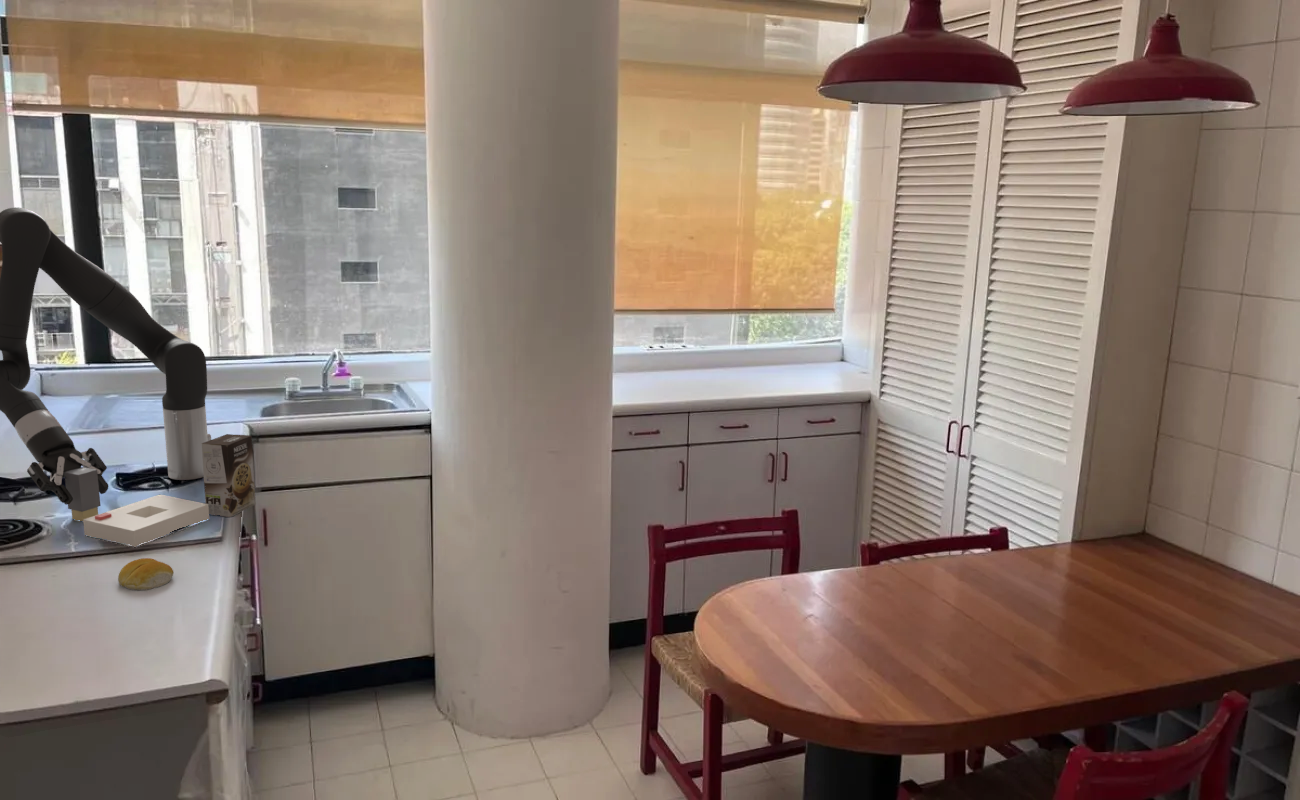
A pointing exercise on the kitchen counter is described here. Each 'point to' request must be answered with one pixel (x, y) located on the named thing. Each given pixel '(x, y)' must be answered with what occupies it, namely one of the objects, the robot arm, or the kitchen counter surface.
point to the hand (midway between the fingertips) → (87, 496)
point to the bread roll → (145, 574)
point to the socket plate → (145, 519)
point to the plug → (83, 492)
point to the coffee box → (228, 474)
